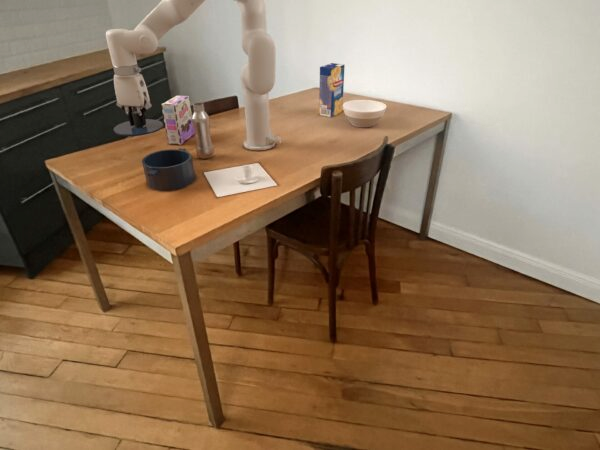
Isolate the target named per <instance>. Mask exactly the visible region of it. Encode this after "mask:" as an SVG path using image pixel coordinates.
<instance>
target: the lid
mask: <svg viewBox="0 0 600 450" xmlns="http://www.w3.org/2000/svg"><path fill="white" fill-rule="evenodd" d="M131 114H132V118H133V122H134V126H131V125H130V122H129V120H128V121H124V122H121V123H119V124H117V125H115V126H114V127H113V132H114V133H115V134H116V135H118V136H123V137H137V136H144V135H150V134H154V133H156V132H159V131H160V130H162V129H163V128H164V122H162V121H161V120H158V119H152V118H151V119H150V118H145V119H146V125H144V126H142V127H140V126H139V122H138V117H137V116H138V115H139V114H138V111H137V110H135V111H134V110H133V112H132V113H131Z"/></svg>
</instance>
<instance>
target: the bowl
mask: <svg viewBox="0 0 600 450" xmlns="http://www.w3.org/2000/svg"><path fill="white" fill-rule="evenodd" d="M342 106H343V109H342V110H343V112H344V115H345V116H346V118H347V121H348V122H349V123H350V124H351V125H352V126H353V127H357V128H371V127H374V126H375V125H376V124H377V123H379V121H380V120H381V118H382V117H383V115H384V114H385V111H386V109H387V108H388V107H387V104H385V103H384V102H381V101H378V100H373V99H353V100H347V101H345V102H343V105H342Z"/></svg>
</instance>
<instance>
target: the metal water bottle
mask: <svg viewBox="0 0 600 450" xmlns="http://www.w3.org/2000/svg"><path fill="white" fill-rule="evenodd" d="M204 105H205V104H204V102H195V103H193V104H192V107H193V108H192V110H193V112H192V117H191V121H192V125H193V128H194V132H195V134H194V137H195V145H196V146H195V152H196V155H197V157H198V158H200V159H203V160H204V159H210V158H212V157H213V156H214V154H215V148H214V146H213V142H212V138H211V130H210V116H209V114H208V113H207V112H206V111H205V106H204Z"/></svg>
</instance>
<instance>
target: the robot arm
mask: <svg viewBox="0 0 600 450" xmlns="http://www.w3.org/2000/svg"><path fill="white" fill-rule="evenodd" d="M205 1H206V0H161V1H160V2H159V3H158V4H157V5H156V6H155V7H154V8H153V9H152V10H151V11H150V12H149V13H148V14H147V15H146V16H145V17H144V18H143V19H142V20H141V21H140V22H139V23H138V24H137V26H135V28H134V29H131V30H129V29H127V28H111V29H107V30H106V31H105V38H106V43H107V48H108V53H109V55H110V60H111V64H112V68H113V72H114V74H113V86H114V92H115V96H116V97H115V98H116V106H117V107H119V108H120V109H121V110H122V111H124V112H125V115H127V118H128V121H129V122H130V125H131V126H134V122H133V118H132V114H131V113H132V112H134V107H135V108H136V111H138V114H139V115H138V116H137V117H138V122H139V126H140V127H142V126H144V125H146V119H147V118H146V112H147V111H148V110H149V109H151V108H152V107H153V105H152V103H151V99H150V94H149V91H148V87H147V84H146V81H145V79H144V76H143V74H142V73H141V72H142V68H141V67H139V66H138V62H137V57H136V54H140V55H141V54H142V55H150V54H153V53H154V52H156V50H157V49H158V47H159V41H160V40H161V38H162V37H164V36H165V35H166V34H167V33H168V32H169V31H170V30H171V29H173V28H174V27H175V26H178V25H180V24H182V23H184V22H185V21H186V20H188V19H189V18H190V17H191V15H192V14H193V13H194V12H195V11H197V9H198V8H199V7H200V6H201V5H202V4H203V3H204V2H205ZM234 1H236V3H237V5H238V7H239V10H240V19H241V20H240V21H241V48H242V51H243V53H244V54H246V56H247V62H246V63H245V64H244V65H243V66H242V67H241V71H240V82H241V90H242V96H243V107H244V108H243V109H244V118H245V132H246V139H245V140H244V141H243V147H244V148H245V149H246V150H250V151H256V152H257V151H266V150H270V149H272V148H274V147H275V146H276V144H281V143H282V138H281V137H280V136H275V135H274V132H272V131H271V113H270V96H269V93H270V92H271V91H272V90H273V88H274V86H275V82H276V46H275V42H274V40H273V39H274V38H272V36H271V35H270V34H269V33H268V32H267V11H266V5H265V1H264V0H234Z"/></svg>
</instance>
